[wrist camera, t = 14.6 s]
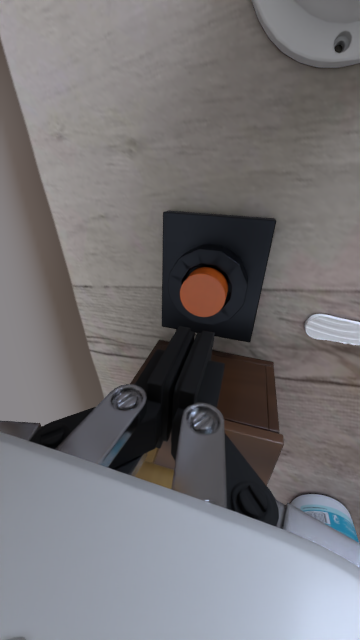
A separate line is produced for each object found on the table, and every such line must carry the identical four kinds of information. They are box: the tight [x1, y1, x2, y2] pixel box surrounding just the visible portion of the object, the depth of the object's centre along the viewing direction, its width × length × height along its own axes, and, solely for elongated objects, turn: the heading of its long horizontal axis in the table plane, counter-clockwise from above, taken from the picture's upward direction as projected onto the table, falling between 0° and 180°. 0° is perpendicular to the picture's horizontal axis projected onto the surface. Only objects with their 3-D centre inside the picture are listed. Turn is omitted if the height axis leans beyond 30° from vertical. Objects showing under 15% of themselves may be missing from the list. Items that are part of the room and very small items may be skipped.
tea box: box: [130, 340, 279, 434], centre depth 27 cm, size 15×13×9 cm
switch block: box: [162, 211, 276, 342], centre depth 22 cm, size 11×9×4 cm
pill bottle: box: [291, 494, 359, 543], centre depth 28 cm, size 8×7×14 cm
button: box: [180, 267, 228, 317], centre depth 20 cm, size 4×4×2 cm
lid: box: [135, 420, 284, 489], centre depth 20 cm, size 15×13×5 cm
